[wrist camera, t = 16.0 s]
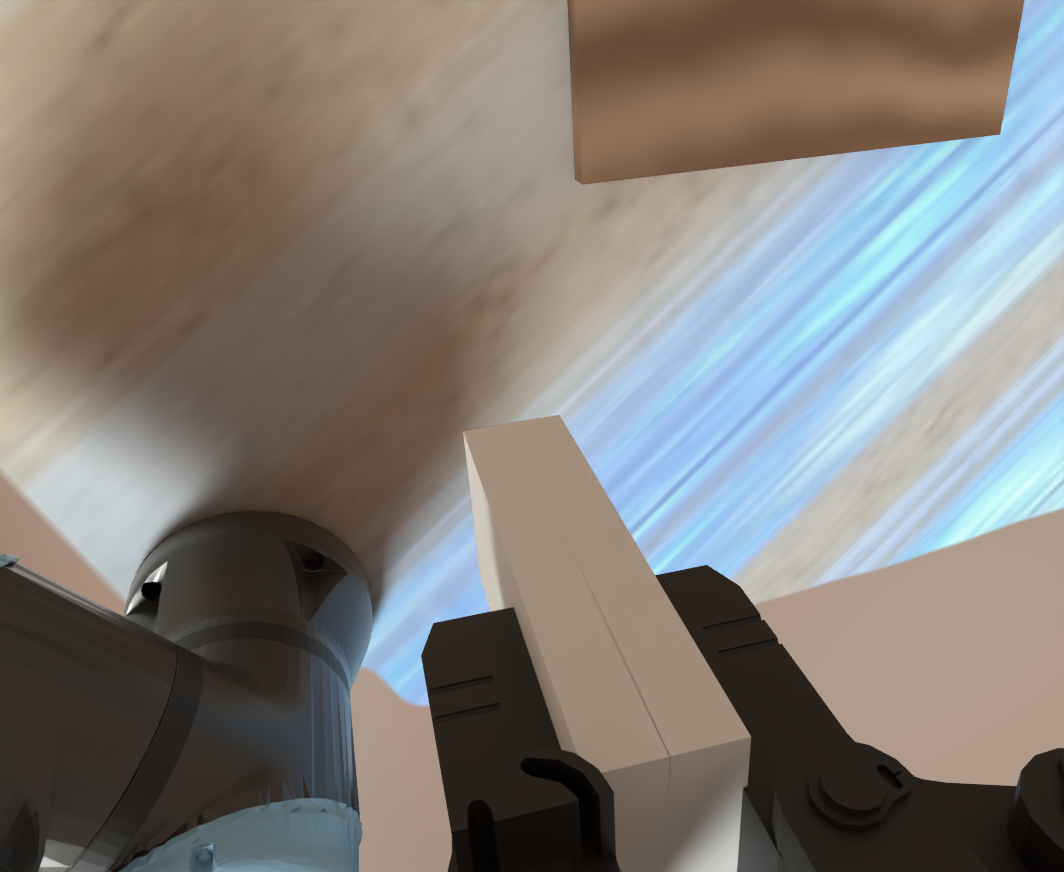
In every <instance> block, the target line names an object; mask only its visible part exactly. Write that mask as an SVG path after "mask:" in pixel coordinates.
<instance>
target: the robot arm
mask: <svg viewBox="0 0 1064 872" xmlns="http://www.w3.org/2000/svg"><path fill="white" fill-rule="evenodd" d="M463 436H464V444H465V452H466V461H467V469H468V478H469V486H470V494H471V503H472V511H473V519H474V528H475V536H476V545H477V553H478V561H479V570H480V577H481V581H482V584H483V587H484V591H485V594H486V597H487V601H488V604H489V608H490V611H491V612H486V613H481V614H477V615H472V616H467V617H462V618H457V619H452V620H447V621H442V622H437V623H433V626H432V628H431V631H430V634H429V636H428V639H427V642H426V644H425V647H424V650H423V652H422V655H421V657H422V663H423V669H424V674H425V680H426V686H427V692H428V698H429V704H430V710H431V716H432V722H433V728H434V733H435V740H436V745H437V751H438V757H439V763H440V769H441V774H442V781H443V786H444V792H445V798H446V804H447V810H448V815H449V821H450V827H451V833H452V855H451V860H450V864H449V868H448V872H1064V748H1057V749H1054V750H1051V751H1048V752H1044V753H1041V754H1038V755H1035V756H1034V757H1033V758H1032V759H1031V760H1030V762H1029V763H1028V764H1027V765H1026V766H1025V767H1024V768H1023V769H1022V771H1021V773H1020V777H1019V780H1018V784H1017V786H1000V785H980V784H960V783H959V784H958V783H944V782H937V781H930V780H924V779H920V778H917V777H914V776H913V775H912V774H911V773H910V772H909V771H908V770H907V769H906V768H905V767H904V766H903V765H902V764H901V763H900V762H899V761H897V760H896V759H895V758H893V757H891V756H889V755H887V754H885V753H883V752H881V751H879V750H878V749H875V748H874V747H872V746H870V745H866V744H862V743H857V742H854V740H853V739H852V738H851V737H850V736H849V735H848V734H847V733H846V731H845V730H844V729H843V727H842V726H841V725H840V723H839V722H838V720H837V719H836V718H835V716H834V715H833V714H832V712H831V711H830V709H829V708H828V707H827V705H826V704H825V703H824V701H823V700H822V698H821V697H820V696H819V694H818V693H817V692H816V690H815V689H814V687H813V686H812V685H811V683H810V682H809V681H808V679H807V678H806V676H805V675H804V674H803V672H802V671H801V670H800V668H799V667H798V666H797V664H796V663H795V662H794V660H793V659H792V657H791V656H790V655H789V653H788V652H787V650H786V649H785V648H784V647H783V645H782V644H779V643H778V640H777V637H776V635H775V634H774V633H773V631H772V630H771V628H770V627H769V626H768V624H767V623H766V622H765V620H761V617H760V613H759V612H758V611H757V609H756V608H755V606H754V605H753V604H752V602H751V601H750V600H749V598H748V597H747V595H746V594H745V593H744V591H743V590H742V589H741V587H740V586H739V585H737V584H736V583H734V582H732V581H731V580H729V579H728V578H726V577H725V576H723V575H722V574H720V573H719V572H717V571H715V570H714V569H712V568H711V567H709V566H708V565H704V566H699V567H694V568H690V569H685V570H680V571H675V572H670V573H665V574H660V575H654V573H653V571H652V570H651V568H650V566H649V565H648V563H647V561H646V560H645V558H644V556H643V555H642V553H641V551H640V550H639V548H638V546H637V545H636V543H635V541H634V539H633V538H632V536H631V534H630V533H629V531H628V529H627V528H626V526H625V524H624V523H623V521H622V519H621V518H620V516H619V514H618V513H617V511H616V509H615V508H614V506H613V504H612V503H611V501H610V499H609V498H608V496H607V494H606V493H605V491H604V489H603V487H602V486H601V484H600V482H599V481H598V479H597V477H596V476H595V474H594V472H593V471H592V469H591V467H590V466H589V464H588V462H587V461H586V459H585V457H584V456H583V454H582V452H581V451H580V449H579V447H578V446H577V444H576V442H575V441H574V439H573V437H572V436H571V434H570V432H569V430H568V429H567V427H566V425H565V424H564V422H563V420H562V419H561V417H560V415H556V416H550V417H544V418H538V419H532V420H526V421H520V422H514V423H508V424H502V425H496V426H490V427H484V428H478V429H472V430H466V431H463ZM18 561H19V558H17V557H15V556H13V555H10V554H3V555H0V872H359V845H360V842H361V838H362V829H361V827H362V825H361V824H362V823H361V822H360V813H359V801H358V790H357V778H356V765H355V754H354V741H353V729H352V717H351V706H350V690H351V688H352V686H353V683H354V681H355V678H356V676H357V673H358V671H359V668H360V666H361V663H362V661H363V658H364V656H365V653H366V651H367V648H368V645H369V642H370V637H371V632H372V622H373V615H372V603H371V594H370V587H369V583H368V580H367V577H366V574H365V572H364V570H363V568H362V566H361V564H360V563H359V561H358V560H357V558H356V557H355V555H354V554H353V553H352V552H351V551H350V549H349V548H348V547H347V546H346V545H345V544H344V543H342V542H341V541H340V540H339V539H338V538H336V537H335V536H334V535H332V534H331V533H329V532H328V531H326V530H324V529H322V528H321V527H319V526H317V525H314V524H312V523H310V522H307V521H305V520H302V519H299V518H296V517H292V516H288V515H284V514H278V513H270V512H237V513H230V514H224V515H219V516H215V517H211V518H208V519H205V520H202V521H199V522H196V523H194V524H192V525H189V526H187V527H185V528H183V529H181V530H180V531H178V532H176V533H175V534H173V535H172V536H170V537H169V538H167V539H166V540H165V541H163V542H162V543H161V544H160V545H159V546H157V547H156V548H155V549H154V550H153V551H152V552H151V554H150V555H149V556H148V557H147V558H146V559H145V561H144V562H143V563H142V565H141V567H140V568H139V570H138V572H137V574H136V575H135V578H134V580H133V583H132V585H131V589H130V592H129V595H128V599H127V602H126V606H125V609H124V614H123V616H121V615H119V614H117V613H115V612H113V611H111V610H109V609H108V608H105V607H104V606H102V605H100V604H98V603H96V602H94V601H92V600H90V599H88V598H86V597H84V596H82V595H80V594H78V593H76V592H74V591H72V590H70V589H68V588H67V587H65V586H63V585H61V584H59V583H57V582H55V581H53V580H51V579H49V578H47V577H45V576H43V575H41V574H39V573H37V572H35V571H33V570H31V569H29V568H27V567H26V566H24V565H22V564H19V563H18Z"/></svg>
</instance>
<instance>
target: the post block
mask: <svg viewBox="0 0 1064 872" xmlns="http://www.w3.org/2000/svg"><path fill="white" fill-rule="evenodd" d="M1023 5H1024V0H568V21H569V44H570V68H571V91H572V115H573V138H574V162H575V180H577V181H578V182H580V183H581V184H591V183H599V182H608V181H616V180H624V179H633V178H641V177H649V176H658V175H666V174H674V173H683V172H691V171H699V170H708V169H716V168H724V167H733V166H741V165H749V164H758V163H766V162H774V161H783V160H791V159H799V158H808V157H816V156H824V155H833V154H841V153H849V152H858V151H866V150H874V149H883V148H891V147H899V146H908V145H916V144H924V143H933V142H941V141H949V140H958V139H966V138H974V137H983V136H991V135H999V134H1000V131H1001V125H1002V120H1003V114H1004V109H1005V103H1006V98H1007V92H1008V87H1009V81H1010V76H1011V70H1012V65H1013V59H1014V54H1015V49H1016V43H1017V38H1018V32H1019V27H1020V21H1021V16H1022V10H1023Z"/></svg>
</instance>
